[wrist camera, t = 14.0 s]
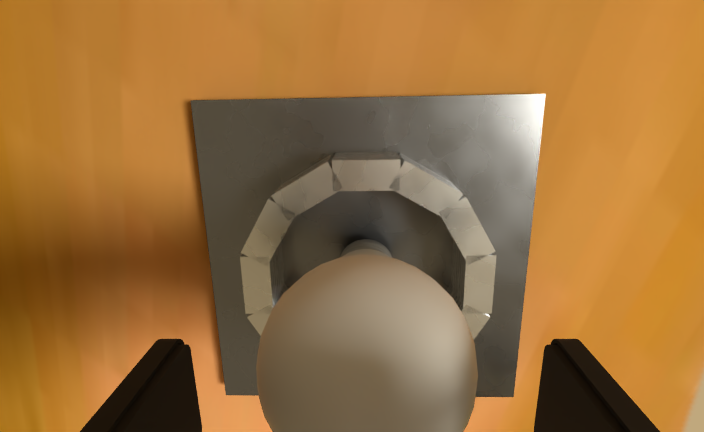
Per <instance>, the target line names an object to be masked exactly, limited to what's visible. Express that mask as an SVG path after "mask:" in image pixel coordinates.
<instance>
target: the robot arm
mask: <svg viewBox="0 0 704 432" xmlns="http://www.w3.org/2000/svg"><path fill="white" fill-rule="evenodd" d="M80 432H202V424H201V417H200V410H199V404H198V397H197V390H196V383H195V377H194V370H193V363H192V356H191V350H190V347H189V345H184V342H183V340H181V339H159V340H157V341H156V342H155V343H154V344H153V346H152V347H151V348H150V349H149V350H148V352H147V353H146V354H145V355H144V356H143V357H142V359H141V360H140V361H139V362H138V363H137V365H136V366H135V367H134V368H133V369H132V371H131V372H130V373H129V374H128V375H127V376H126V378H125V379H124V380H123V381H122V382H121V384H120V385H119V386H118V387H117V388H116V389H115V391H114V392H113V393H112V394H111V395H110V397H109V398H108V399H107V400H106V401H105V403H104V404H103V405H102V406H101V407H100V408H99V410H98V411H97V412H96V413H95V414H94V416H93V417H92V418H91V419H90V420H89V421H88V423H87V424H86V425H85V426H84V427H83V429H82V430H81V431H80ZM534 432H660V431H659V430H658V429H657V428H656V427H655V425H654V424H653V423H652V422H651V421H650V420H649V419H648V417H647V416H646V415H645V414H644V413H643V412H642V411H641V409H640V408H639V407H638V406H637V405H636V404H635V403H634V402H633V400H632V399H631V398H630V397H629V396H628V395H627V394H626V392H625V391H624V390H623V389H622V388H621V387H620V386H619V385H618V383H617V382H616V381H615V380H614V379H613V378H612V377H611V375H610V374H609V373H608V372H607V371H606V370H605V369H604V367H603V366H602V365H601V364H600V363H599V362H598V361H597V360H596V358H595V357H594V356H593V355H592V354H591V353H590V352H589V350H588V349H587V348H586V347H585V346H584V345H583V344H582V343H581V341H579V340H578V339H554V340H553V341H552V342H551V345H546V346H545V349H544V356H543V363H542V371H541V379H540V386H539V394H538V402H537V409H536V417H535V425H534Z"/></svg>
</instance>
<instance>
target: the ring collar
mask: <svg viewBox="0 0 704 432" xmlns="http://www.w3.org/2000/svg"><path fill="white" fill-rule="evenodd" d="M545 95H546V94H513V95H459V96H405V97H351V98H297V99H243V100H191V108H192V116H193V125H194V133H195V141H196V150H197V158H198V166H199V175H200V183H201V191H202V200H203V208H204V216H205V225H206V233H207V241H208V249H209V258H210V266H211V274H212V283H213V291H214V299H215V308H216V316H217V324H218V333H219V341H220V349H221V358H222V366H223V374H224V382H225V391H226V395H259V393H258V387H257V370H256V366H257V355H258V349H259V344H260V338H261V334H262V332H263V330H264V327H265V325H266V323H267V320H268V318H269V316H270V314H271V311H272V309H273V308H274V306H275V305H276V303H277V302H278V301H279V299H280V298H281V296H282V295H283V294H284V292H286V291H287V290H288V289H289V288H290V287H291V286H292V285H293V284H294V283H295V282H297V281H298V280H299V279H300V278H301V277H302V276H303V275H305V274H306V273H307V272H309V271H311V270H312V269H314V268H316V267H317V266H319V265H321V264H323V263H326V262H329V261H332V260H334V259H337V258H340V255H341V253H342V252H343V250H344V249H345V248H346V247H347V246H348V245H349V244H351V243H353V242H355V241H357V240H362V239H370V240H375V241H377V242H380V243H381V244H383V245H384V246H385V247H386V248H387V249H388V250H389V252H390V253H391V255H392V258H394V259H398V260H401V261H403V262H405V263H408V264H410V265H413V266H415V267H417V268H418V269H420V270H421V271H423V272H424V273H426V274H427V275H429V276H430V277H431V278H433V279H434V280H435V281H436V282H437V283H438V284H439V285H440V286H441V287H442V288H443V289H444V290H445V291H446V292H447V293H448V294H449V295H450V296H451V297H452V298H453V299H454V301H455V302H456V304H457V305H458V307H459V309H460V310H461V312H462V313H463V315H464V317H465V319H466V322H467V324H468V326H469V329H470V332H471V335H472V337H473V340H474V343H475V351H476V360H477V370H478V380H477V388H476V396H475V397H513V396H514V387H515V377H516V368H517V359H518V349H519V340H520V330H521V321H522V312H523V302H524V293H525V283H526V274H527V265H528V255H529V246H530V236H531V227H532V218H533V208H534V199H535V189H536V180H537V171H538V161H539V152H540V142H541V133H542V124H543V114H544V105H545Z"/></svg>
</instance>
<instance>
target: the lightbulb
mask: <svg viewBox="0 0 704 432" xmlns="http://www.w3.org/2000/svg"><path fill="white" fill-rule="evenodd" d="M256 370H257V387H258V393H259V399H260V402H261V406H262V410H263V413H264V416H265V418H266V420H267V422H268V424H269V426H270V428H271V429H272V431H273V432H463V431H464V429H465V427H466V426H467V424H468V421H469V419H470V416H471V413H472V410H473V408H474V402H475V396H476V388H477V380H478V370H477V360H476V351H475V343H474V340H473V337H472V335H471V332H470V329H469V326H468V324H467V322H466V319H465V317H464V315H463V313H462V312H461V310H460V309H459V307H458V305H457V304H456V302H455V301H454V299H453V298H452V297H451V296H450V295H449V294H448V293H447V292H446V291H445V290H444V289H443V288H442V287H441V286H440V285H439V284H438V283H437V282H436V281H435V280H434V279H433V278H431V277H430V276H429V275H427V274H426V273H424V272H423V271H421V270H420V269H418V268H417V267H415V266H413V265H410V264H408V263H405V262H403V261H401V260H398V259H394V258H392V255H391V253H390V252H389V250H388V249H387V248H386V247H385V246H384V245H383V244H381V243H380V242H377V241H375V240H370V239H362V240H357V241H355V242H353V243H351V244H349V245H348V246H347V247H346V248H345V249H344V250H343V252H342V253H341V255H340V258H337V259H334V260H332V261H329V262H326V263H323V264H321V265H319V266H317V267H316V268H314V269H312V270H311V271H309V272H307V273H306V274H305V275H303V276H302V277H301V278H300V279H299V280H298V281H297V282H295V283H294V284H293V285H292V286H291V287H290V288H289V289H288V290H287V291H286V292H284V294H283V295H282V296H281V298H280V299H279V301H278V302H277V303H276V305H275V306H274V308H273V309H272V311H271V314H270V316H269V318H268V320H267V323H266V325H265V327H264V330H263V332H262V334H261V338H260V344H259V349H258V355H257V366H256Z"/></svg>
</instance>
